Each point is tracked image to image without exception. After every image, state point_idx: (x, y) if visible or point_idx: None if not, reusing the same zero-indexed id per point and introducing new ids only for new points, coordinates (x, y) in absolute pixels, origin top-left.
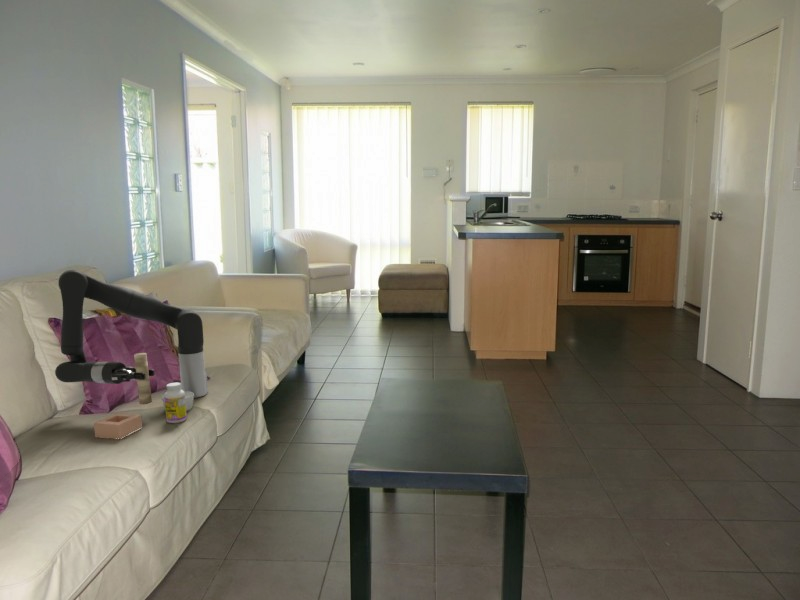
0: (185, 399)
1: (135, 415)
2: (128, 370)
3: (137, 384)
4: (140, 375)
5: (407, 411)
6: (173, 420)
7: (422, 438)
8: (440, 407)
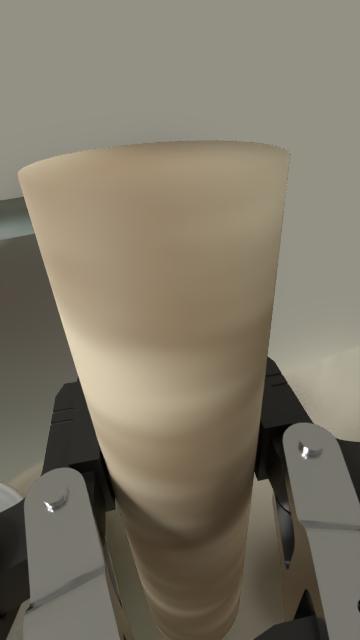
0: (1, 483)
1: None
2: (347, 561)
3: (246, 530)
4: (268, 362)
5: (21, 223)
6: None
7: None
8: (4, 215)
